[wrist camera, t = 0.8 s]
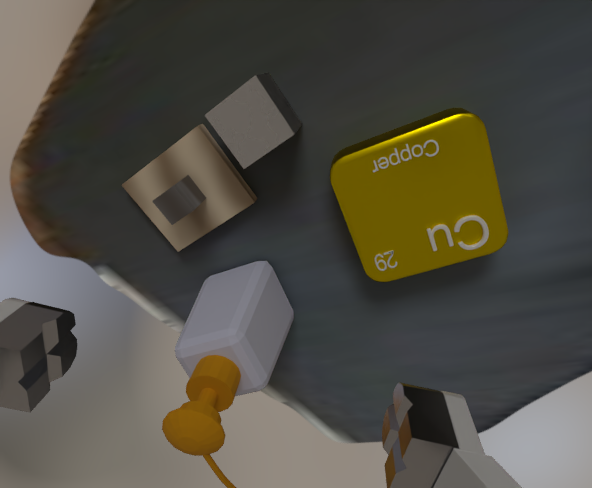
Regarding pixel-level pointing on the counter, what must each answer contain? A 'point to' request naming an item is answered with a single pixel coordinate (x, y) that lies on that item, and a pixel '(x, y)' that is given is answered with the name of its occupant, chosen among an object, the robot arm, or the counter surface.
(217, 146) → the birch base
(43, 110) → the counter surface
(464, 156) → the element tile
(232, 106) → the upright gray block
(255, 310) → the soap bottle
